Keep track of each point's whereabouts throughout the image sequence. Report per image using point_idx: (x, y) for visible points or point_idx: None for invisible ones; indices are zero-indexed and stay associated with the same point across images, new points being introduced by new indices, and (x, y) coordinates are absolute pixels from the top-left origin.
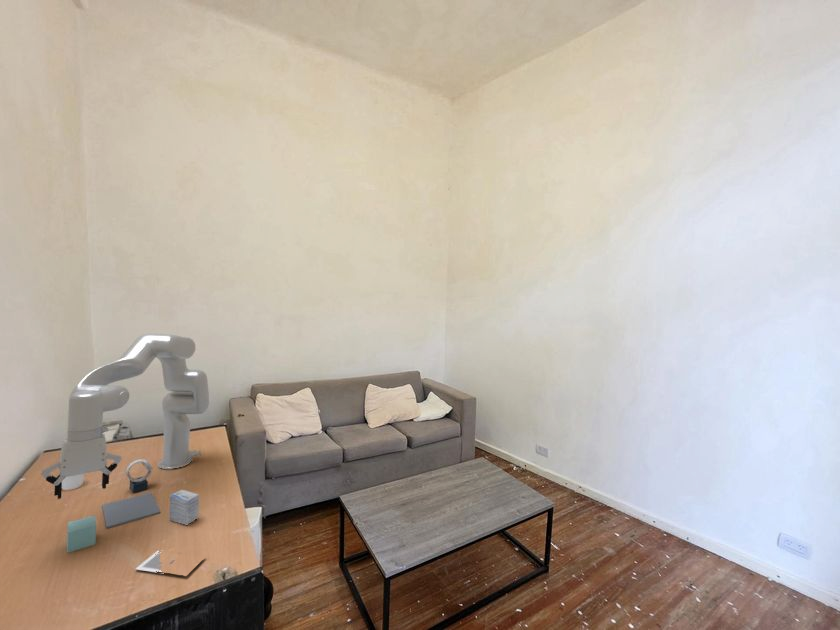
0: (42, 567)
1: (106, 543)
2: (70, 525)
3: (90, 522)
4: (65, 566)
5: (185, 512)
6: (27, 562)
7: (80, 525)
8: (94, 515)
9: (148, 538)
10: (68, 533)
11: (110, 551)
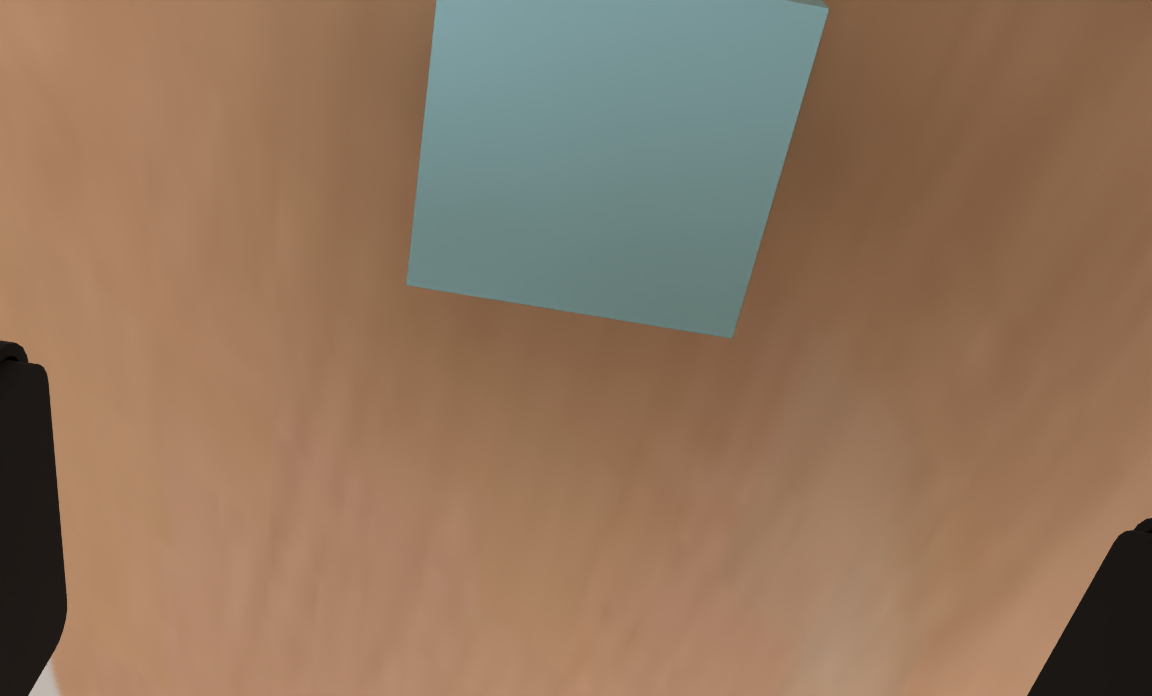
0: (229, 264)
1: (784, 283)
2: (461, 91)
3: (698, 215)
4: (399, 399)
5: None
6: (93, 40)
7: (570, 206)
8: (823, 10)
9: (1077, 492)
10: (413, 274)
11: (752, 451)
